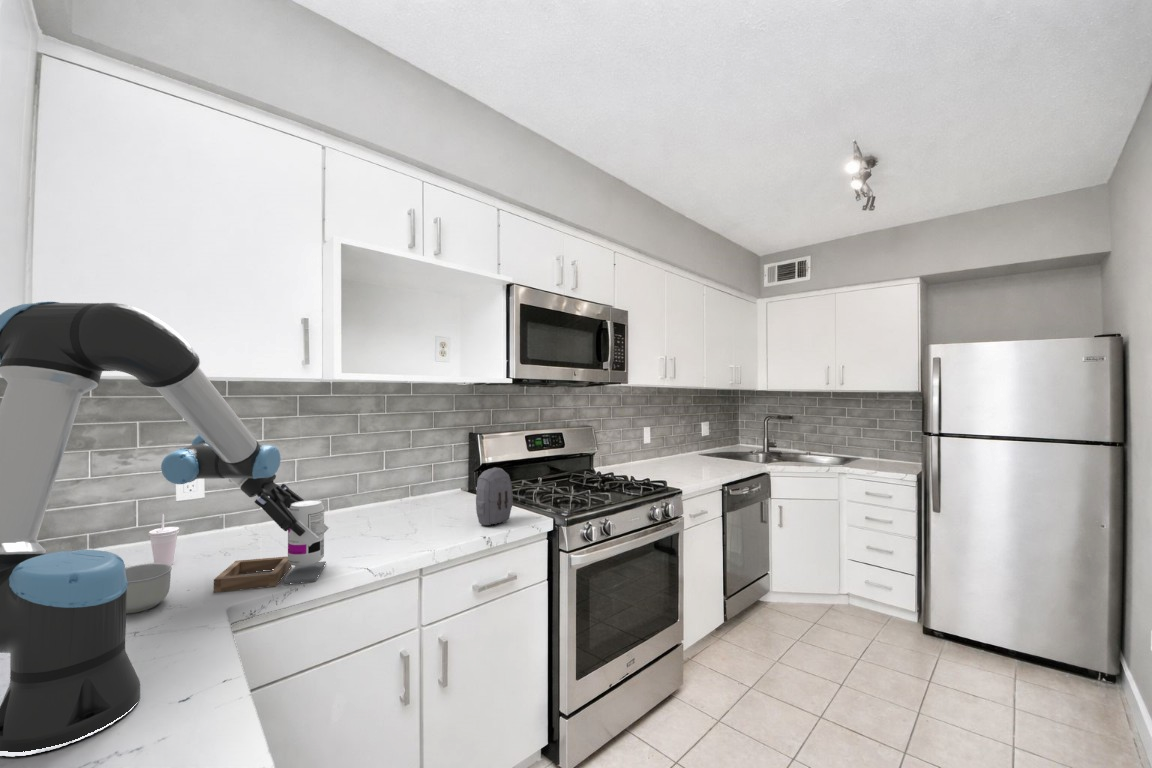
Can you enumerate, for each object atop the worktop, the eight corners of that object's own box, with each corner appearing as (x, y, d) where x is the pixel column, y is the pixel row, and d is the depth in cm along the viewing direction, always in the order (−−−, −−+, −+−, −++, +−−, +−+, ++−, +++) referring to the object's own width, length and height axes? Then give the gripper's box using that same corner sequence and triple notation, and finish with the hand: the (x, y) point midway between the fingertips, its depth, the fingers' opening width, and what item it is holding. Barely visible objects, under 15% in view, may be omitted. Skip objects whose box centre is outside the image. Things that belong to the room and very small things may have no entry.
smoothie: (142, 570, 128) (142, 517, 128) (158, 562, 135) (159, 511, 135) (169, 569, 129) (169, 516, 129) (184, 560, 136) (185, 510, 136)
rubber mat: (315, 581, 121) (315, 577, 121) (283, 584, 119) (283, 580, 119) (325, 564, 133) (325, 561, 133) (297, 567, 131) (297, 563, 131)
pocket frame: (275, 586, 118) (275, 574, 118) (213, 592, 115) (213, 579, 115) (291, 567, 131) (291, 556, 131) (235, 572, 127) (235, 560, 127)
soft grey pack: (503, 517, 181) (503, 463, 182) (519, 521, 176) (519, 466, 176) (471, 526, 170) (471, 469, 170) (487, 531, 164) (487, 471, 165)
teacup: (165, 592, 115) (165, 558, 115) (176, 606, 108) (177, 569, 108) (81, 613, 104) (81, 576, 104) (88, 630, 97) (88, 589, 97)
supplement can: (288, 569, 121) (288, 508, 121) (287, 559, 128) (287, 501, 128) (325, 563, 125) (325, 504, 125) (322, 553, 132) (322, 498, 132)
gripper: (259, 479, 134) (322, 535, 137) (218, 496, 113) (293, 561, 116) (280, 459, 135) (342, 515, 138) (243, 473, 114) (317, 538, 117)
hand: (320, 536), depth 127 cm, fingers closed on supplement can, 8 cm apart
